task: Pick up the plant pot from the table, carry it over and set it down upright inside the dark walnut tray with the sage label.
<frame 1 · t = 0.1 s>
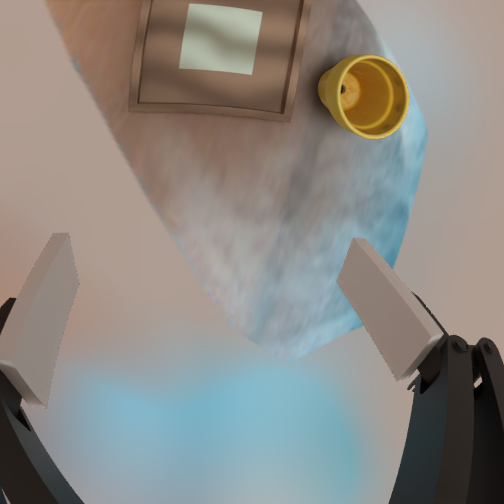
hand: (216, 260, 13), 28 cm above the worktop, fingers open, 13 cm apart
walnut tray: (220, 38, 29), on the worktop
plant pot: (337, 89, 35), on the worktop
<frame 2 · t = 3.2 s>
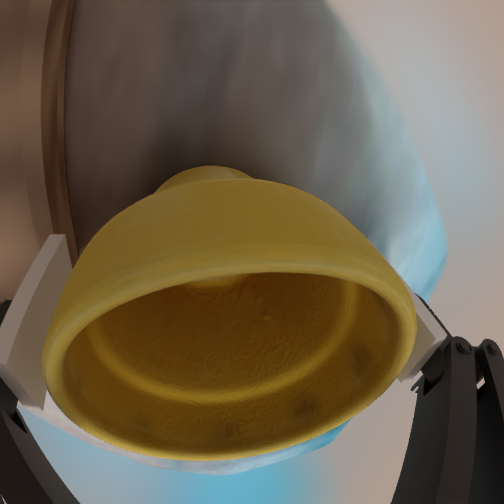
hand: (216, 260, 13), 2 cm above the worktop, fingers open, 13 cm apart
plant pot: (206, 225, 15), on the worktop
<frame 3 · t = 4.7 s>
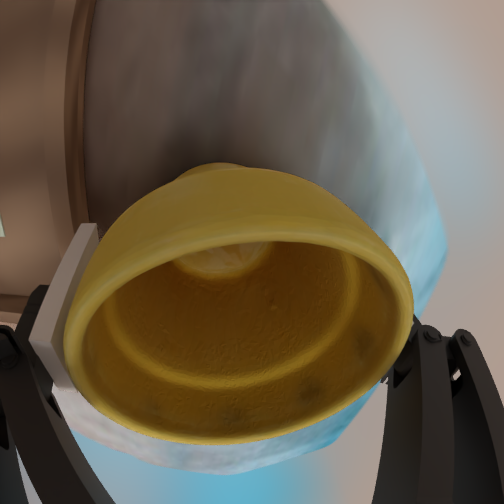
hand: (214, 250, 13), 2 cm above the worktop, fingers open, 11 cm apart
plant pot: (215, 219, 16), on the worktop, touching gripper
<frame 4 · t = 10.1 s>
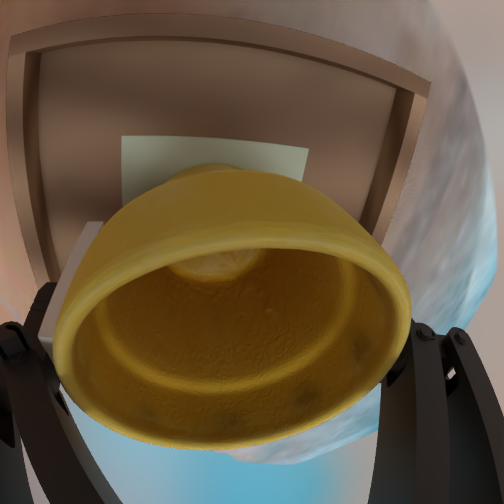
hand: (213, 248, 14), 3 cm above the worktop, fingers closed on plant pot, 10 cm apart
walnut tray: (208, 216, 16), on the worktop
plant pot: (209, 221, 15), point 1 cm above the worktop, touching gripper, walnut tray
when the fingers open (3 cm above the worktop, at t = 10.4 s): plant pot stays where it is, resting on walnut tray.
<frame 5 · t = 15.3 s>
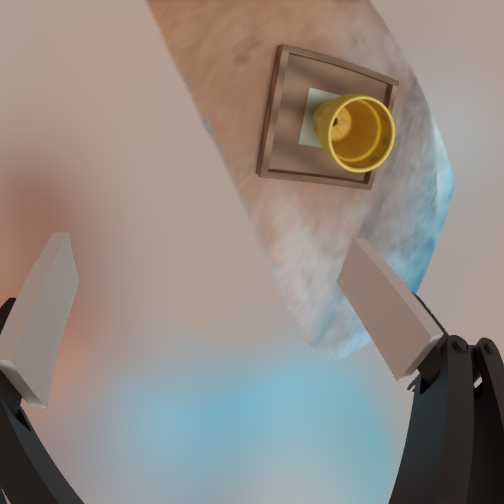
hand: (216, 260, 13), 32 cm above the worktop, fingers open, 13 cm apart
walnut tray: (328, 120, 41), on the worktop
plant pot: (330, 120, 41), point 1 cm above the worktop, touching walnut tray
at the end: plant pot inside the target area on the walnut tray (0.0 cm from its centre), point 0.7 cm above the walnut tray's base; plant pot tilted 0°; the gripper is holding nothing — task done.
